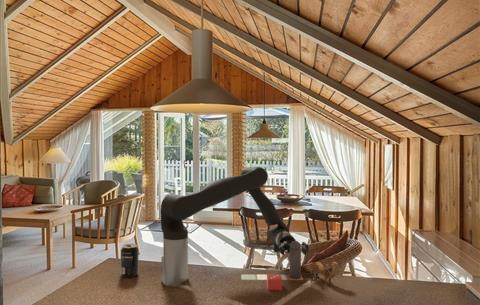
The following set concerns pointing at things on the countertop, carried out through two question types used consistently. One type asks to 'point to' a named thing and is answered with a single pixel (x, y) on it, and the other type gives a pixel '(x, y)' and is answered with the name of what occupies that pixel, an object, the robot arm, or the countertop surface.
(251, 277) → the game board
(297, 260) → the grey cylinder
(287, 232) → the robot arm
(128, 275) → the beverage can
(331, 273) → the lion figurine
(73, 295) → the countertop surface
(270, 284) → the red die
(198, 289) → the countertop surface
